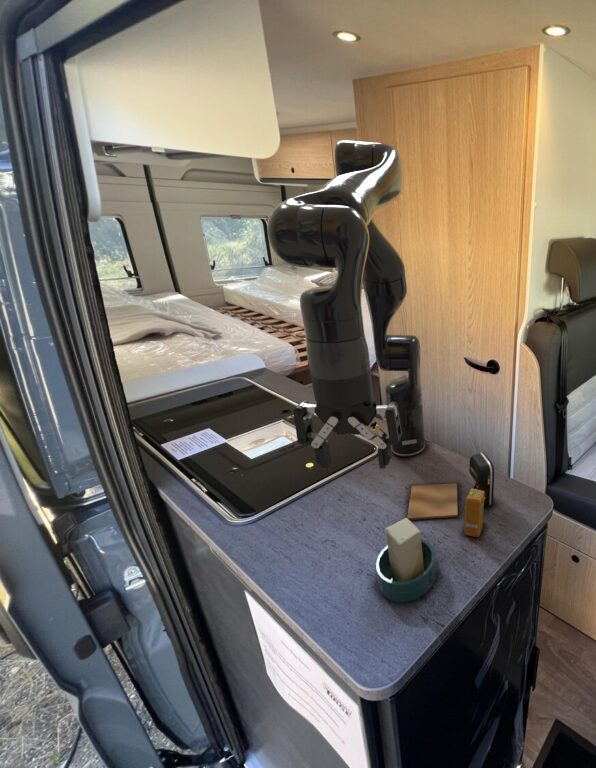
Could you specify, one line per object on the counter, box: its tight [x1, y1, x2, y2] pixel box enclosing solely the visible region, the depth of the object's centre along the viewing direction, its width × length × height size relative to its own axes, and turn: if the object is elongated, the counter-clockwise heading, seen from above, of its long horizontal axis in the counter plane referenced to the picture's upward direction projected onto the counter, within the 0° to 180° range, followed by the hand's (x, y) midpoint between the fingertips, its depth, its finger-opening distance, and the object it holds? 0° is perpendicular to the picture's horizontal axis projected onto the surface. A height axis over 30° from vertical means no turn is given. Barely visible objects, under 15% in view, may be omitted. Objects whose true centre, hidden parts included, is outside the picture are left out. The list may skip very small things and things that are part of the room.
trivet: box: [406, 482, 459, 521], centre depth 91 cm, size 11×11×1 cm
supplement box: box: [464, 488, 485, 538], centre depth 81 cm, size 3×3×10 cm
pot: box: [375, 538, 437, 603], centre depth 71 cm, size 10×10×4 cm
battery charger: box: [468, 452, 495, 507], centre depth 90 cm, size 7×4×11 cm, turn 28°
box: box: [385, 517, 424, 582], centre depth 70 cm, size 5×4×11 cm
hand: (355, 465), depth 59 cm, fingers open, 8 cm apart
